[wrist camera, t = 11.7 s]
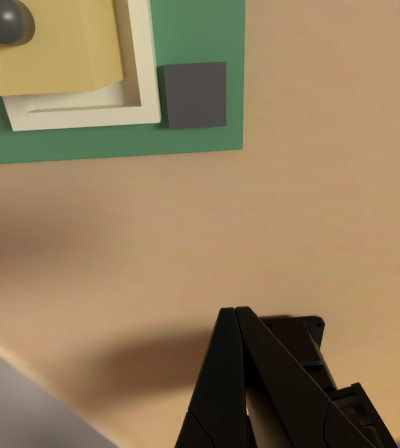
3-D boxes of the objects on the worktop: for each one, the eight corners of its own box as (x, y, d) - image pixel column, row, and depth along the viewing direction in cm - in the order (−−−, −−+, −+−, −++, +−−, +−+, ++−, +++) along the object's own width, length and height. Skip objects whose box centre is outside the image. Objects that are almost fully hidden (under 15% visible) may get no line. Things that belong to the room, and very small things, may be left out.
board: (239, 144, 19) (248, 159, 16) (-28, 159, 18) (-66, 178, 16) (242, -143, 13) (259, -198, 10) (-146, -126, 13) (-239, -178, 10)
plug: (125, 78, 15) (85, 94, 9) (45, 83, 15) (-52, 102, 9) (107, -46, 13) (36, -139, 7) (12, -41, 13) (-148, -131, 7)
